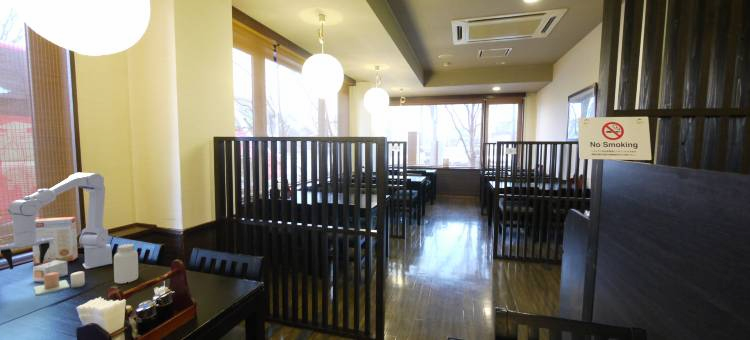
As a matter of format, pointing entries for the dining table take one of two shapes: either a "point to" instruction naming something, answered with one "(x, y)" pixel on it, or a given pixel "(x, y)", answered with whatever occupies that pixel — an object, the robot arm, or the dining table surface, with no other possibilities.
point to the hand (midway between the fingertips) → (26, 265)
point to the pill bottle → (125, 264)
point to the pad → (41, 290)
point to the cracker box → (57, 239)
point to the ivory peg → (77, 279)
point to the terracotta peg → (51, 280)
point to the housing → (49, 269)
